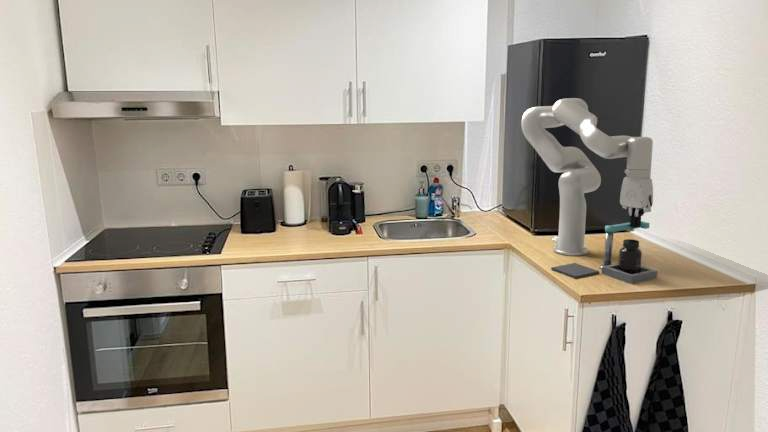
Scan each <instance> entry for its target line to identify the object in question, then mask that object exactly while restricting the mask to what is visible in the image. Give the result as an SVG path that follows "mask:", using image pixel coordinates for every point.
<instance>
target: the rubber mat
mask: <svg viewBox="0 0 768 432" xmlns="http://www.w3.org/2000/svg"><path fill="white" fill-rule="evenodd" d="M550 269H551V271H554V272H557V273H558V274H561V275H565V276H566V277H570V278H573V279H580V278H585V277H588V276H589V277H590V276H593V275H599V274H600V270H596V269H594V268H590V267H588V266H585V265H583V264H580V263H577V262H573V263H572V262H571V263H567V264H562V265H558V266H552V267H551V268H550Z"/></svg>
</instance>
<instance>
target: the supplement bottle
mask: <svg viewBox="0 0 768 432" xmlns="http://www.w3.org/2000/svg"><path fill="white" fill-rule="evenodd" d="M622 241H623V243H622V247H621V248H620V249H619V254H618V263H619V267H618V270H619V271H623V272H626V273H629V274H635V273H640V272H641V266H642V259H643V258H642V255H643V251H642V250H641V249H640V241H639V240H637V239H631V238H628V239H624V240H622Z"/></svg>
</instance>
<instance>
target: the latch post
mask: <svg viewBox="0 0 768 432" xmlns="http://www.w3.org/2000/svg"><path fill="white" fill-rule="evenodd" d="M604 241H605V242H604V256H603V263H602V264H599V266H598V269H599V270H601V271H602V266H607V265H612V259H613V258H612V257H613V245H614V233H609V232H605V240H604Z"/></svg>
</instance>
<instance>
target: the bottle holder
mask: <svg viewBox="0 0 768 432" xmlns="http://www.w3.org/2000/svg"><path fill="white" fill-rule="evenodd" d="M618 267H619V262H618V263H613V264H612V263H611V265H607V266H602V270H601V275H605V276H607V277H611V278H613V279H616V280H619V281H621V282H625V283H627V284H630V285H633V284H636V283H642V282H645V281H650V280H654V279H657V278H658V270H656V269H653V268H651V267H646V266H643V265H641V272H640V273H635V274H629V273H626V272H623V271H619V270H618Z"/></svg>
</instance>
